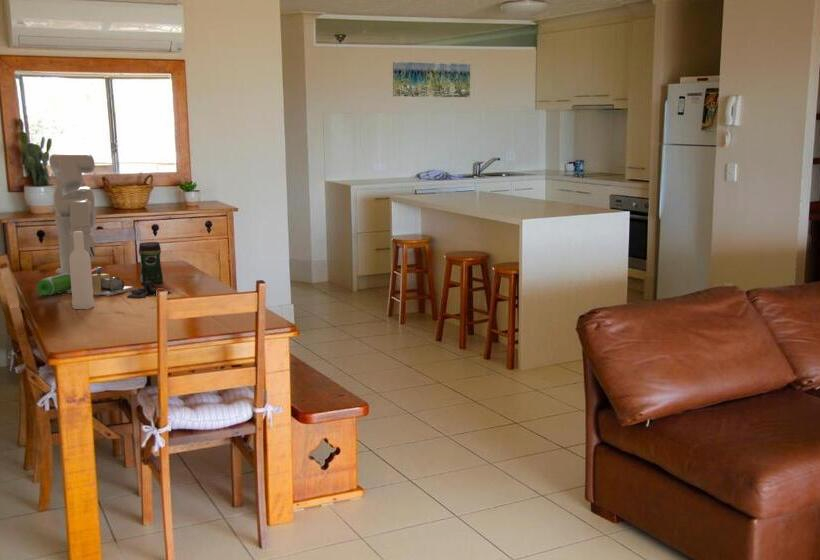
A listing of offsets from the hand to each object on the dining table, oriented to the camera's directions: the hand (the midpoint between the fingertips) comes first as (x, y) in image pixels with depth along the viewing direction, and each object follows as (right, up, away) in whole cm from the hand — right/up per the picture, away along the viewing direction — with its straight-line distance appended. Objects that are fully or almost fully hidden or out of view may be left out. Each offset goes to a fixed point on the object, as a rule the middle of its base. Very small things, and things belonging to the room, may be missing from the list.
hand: (84, 273), depth 368 cm
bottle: (+9, -14, -24) cm, 29 cm away
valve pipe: (+3, -7, +10) cm, 13 cm away
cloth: (+28, -9, +4) cm, 29 cm away
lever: (+3, -1, +4) cm, 5 cm away
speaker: (-14, -8, +9) cm, 19 cm away
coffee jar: (+20, -4, +30) cm, 36 cm away
